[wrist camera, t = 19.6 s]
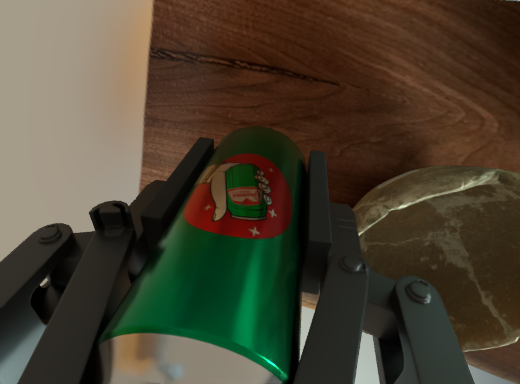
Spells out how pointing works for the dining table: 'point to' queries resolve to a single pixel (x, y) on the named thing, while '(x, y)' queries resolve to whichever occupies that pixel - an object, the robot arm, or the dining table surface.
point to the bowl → (452, 244)
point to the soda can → (220, 277)
